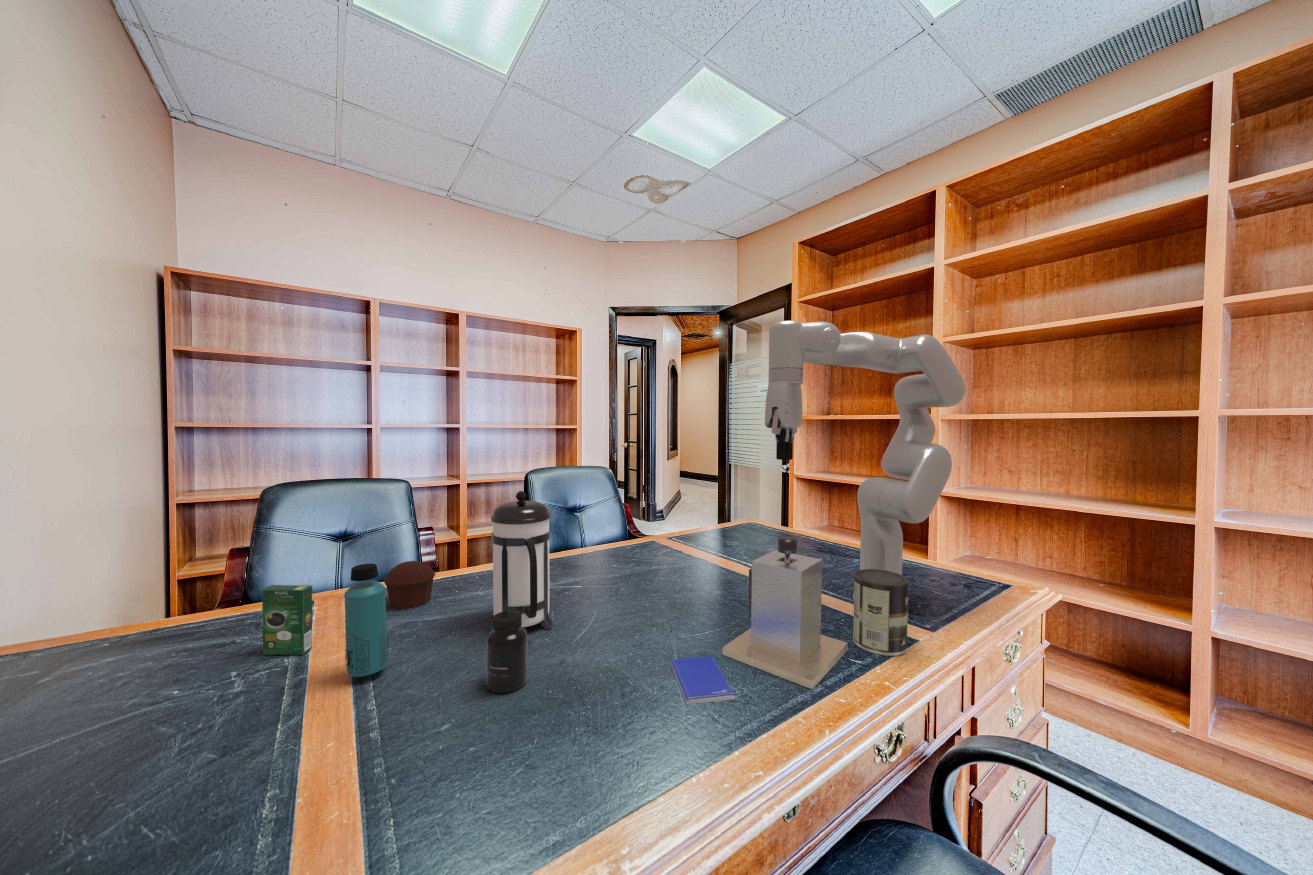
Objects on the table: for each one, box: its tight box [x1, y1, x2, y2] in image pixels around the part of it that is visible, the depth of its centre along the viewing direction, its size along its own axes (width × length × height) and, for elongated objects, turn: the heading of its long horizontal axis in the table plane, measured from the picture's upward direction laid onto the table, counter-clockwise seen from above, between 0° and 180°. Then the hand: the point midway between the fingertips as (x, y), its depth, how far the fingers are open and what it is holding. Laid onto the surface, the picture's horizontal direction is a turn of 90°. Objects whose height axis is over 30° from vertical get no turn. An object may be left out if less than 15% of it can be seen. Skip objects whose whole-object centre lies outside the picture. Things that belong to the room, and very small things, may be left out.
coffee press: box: [490, 490, 554, 631], centre depth 103 cm, size 17×16×30 cm
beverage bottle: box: [343, 563, 389, 678], centre depth 83 cm, size 6×7×20 cm
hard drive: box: [670, 656, 736, 705], centre depth 82 cm, size 2×8×12 cm
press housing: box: [722, 549, 849, 690], centre depth 92 cm, size 18×18×18 cm
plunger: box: [777, 536, 798, 563], centre depth 92 cm, size 7×7×16 cm
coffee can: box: [852, 569, 910, 657], centre depth 96 cm, size 10×10×14 cm
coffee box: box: [261, 584, 313, 656], centre depth 92 cm, size 8×3×13 cm, turn 92°
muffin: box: [383, 560, 436, 610], centre depth 117 cm, size 12×11×10 cm
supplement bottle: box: [485, 611, 528, 695], centre depth 81 cm, size 7×7×12 cm
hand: (784, 459), depth 106 cm, fingers closed
